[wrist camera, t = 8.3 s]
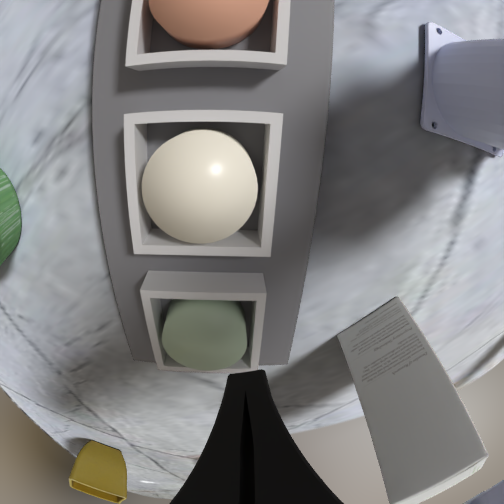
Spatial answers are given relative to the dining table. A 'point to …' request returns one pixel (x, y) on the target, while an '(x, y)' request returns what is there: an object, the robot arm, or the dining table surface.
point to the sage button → (205, 333)
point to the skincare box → (410, 406)
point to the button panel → (241, 128)
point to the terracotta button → (208, 20)
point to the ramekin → (8, 217)
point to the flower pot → (100, 472)
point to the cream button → (200, 186)
